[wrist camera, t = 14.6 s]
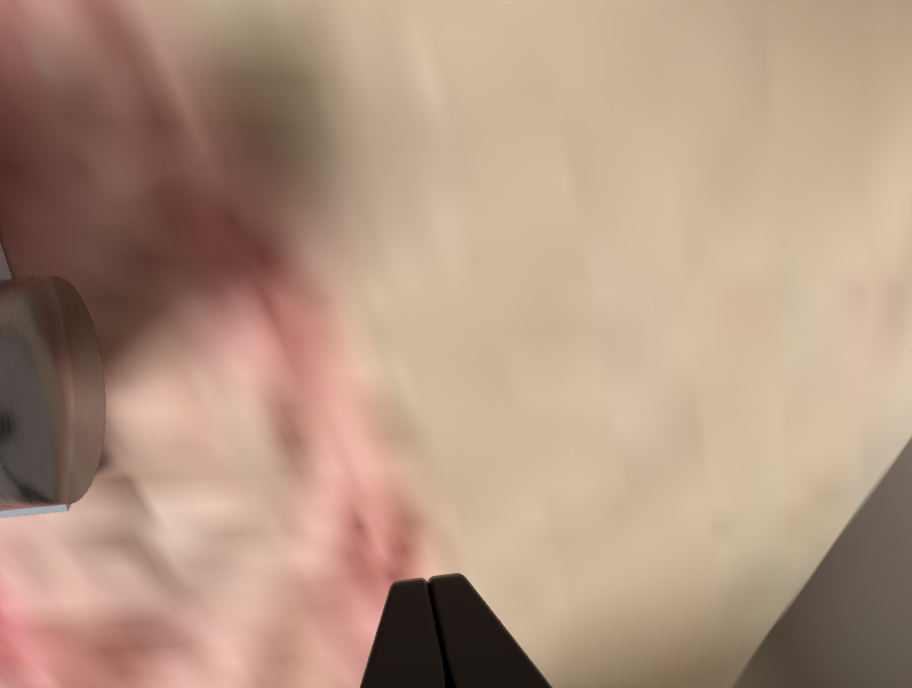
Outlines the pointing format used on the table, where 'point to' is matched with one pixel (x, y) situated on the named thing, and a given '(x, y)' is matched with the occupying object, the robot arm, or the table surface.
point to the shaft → (48, 394)
